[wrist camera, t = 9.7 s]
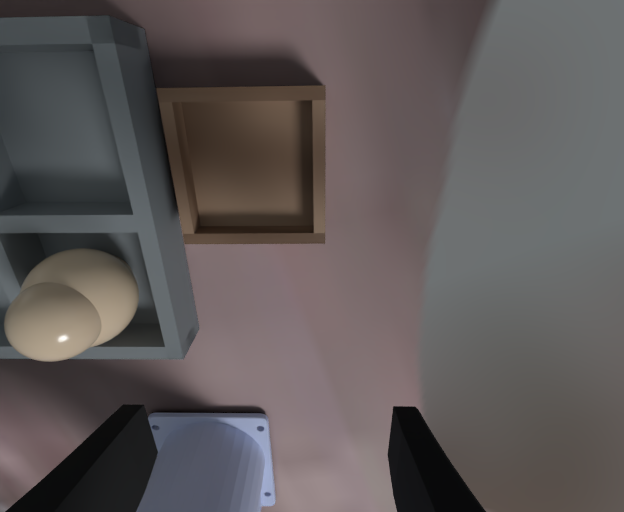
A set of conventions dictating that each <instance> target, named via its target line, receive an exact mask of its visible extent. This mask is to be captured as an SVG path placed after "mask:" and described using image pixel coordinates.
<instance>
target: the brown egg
mask: <svg viewBox="0 0 624 512" xmlns="http://www.w3.org/2000/svg"><path fill="white" fill-rule="evenodd" d="M138 302H139V289H138V284H137V281H136V279H135V276H134V274H133V272H132V270H131V268H130V266H129V265H128V264H127V263H126V262H125V261H124V260H122V259H121V258H119V257H117V256H115V255H111V254H109V253H107V252H104V251H100V250H96V249H87V248H78V249H70V250H65V251H62V252H59V253H56V254H53V255H51V256H49V257H48V258H46V259H44V260H43V261H41V262H40V263H39V264H37V265H36V266H35V267H34V268H33V269H32V270H31V271H30V273H29V274H28V275H27V277H26V278H25V280H24V282H23V284H22V287H21V290H20V294H19V295H18V296H17V297H16V298H15V299H14V300H13V301H12V303H11V304H10V306H9V308H8V310H7V312H6V315H5V320H4V329H5V334H6V337H7V339H8V341H9V343H10V344H11V345H12V347H13V348H14V349H15V350H16V351H18V352H19V353H21V354H22V355H24V356H26V357H28V358H31V359H34V360H38V361H46V362H53V361H61V360H66V359H69V358H72V357H74V356H76V355H78V354H80V353H82V352H84V351H85V350H87V349H88V348H90V347H94V346H97V345H100V344H103V343H105V342H107V341H109V340H111V339H112V338H114V337H115V336H117V335H118V334H119V333H121V332H122V331H123V330H124V329H125V328H126V327H127V325H128V324H129V323H130V321H131V320H132V318H133V316H134V315H135V312H136V310H137V307H138Z"/></svg>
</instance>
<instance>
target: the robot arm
mask: <svg viewBox="0 0 624 512" xmlns="http://www.w3.org/2000/svg"><path fill="white" fill-rule="evenodd" d="M156 457H157V458H156ZM155 460H156V461H155ZM388 460H389V467H390V475H391V482H392V488H393V495H394V499H395V504H396V508H397V512H486V511H485V510H484V509H483V507H482V506H481V504H480V503H479V502H478V500H477V499H476V498H475V496H474V495H473V494H472V492H471V491H470V490H469V488H468V487H467V485H466V484H465V482H464V481H463V479H462V478H461V476H460V475H459V473H458V472H457V471H456V469H455V468H454V466H453V465H452V464H451V462H450V460H449V459H448V458H447V456H446V454H445V453H444V451H443V450H442V448H441V447H440V445H439V443H438V442H437V440H436V439H435V437H434V435H433V434H432V432H431V430H430V429H429V427H428V426H427V424H426V422H425V420H424V419H423V417H422V415H421V413H420V412H419V410H418V409H417V408H416V407H395V406H393V415H392V423H391V432H390V440H389V449H388ZM275 499H276V496H275V485H274V474H273V464H272V453H271V443H270V432H269V421H268V417H267V416H266V415H265V414H261V413H151V414H150V415H149V417H147V414H146V410H145V407H144V405H122V406H121V407H120V408H119V409H118V410H117V411H116V412H115V413H114V414H113V415H111V416H110V417H109V418H108V419H107V420H106V421H105V422H104V423H103V424H102V425H101V426H100V427H99V428H98V429H97V430H95V431H94V432H93V433H92V434H91V435H90V436H89V437H88V438H87V439H86V440H85V441H84V442H83V443H82V444H81V445H80V446H78V447H77V448H76V449H75V450H74V451H73V452H72V453H71V454H70V455H69V456H68V457H67V458H65V459H64V460H63V461H62V462H61V463H60V464H59V465H58V466H57V467H56V468H55V469H53V470H52V471H51V472H50V473H49V474H48V475H47V476H46V477H45V478H44V479H42V480H41V481H40V482H39V483H38V484H37V485H36V486H34V487H33V488H32V489H31V490H30V491H29V492H28V493H26V494H25V495H24V496H23V497H22V498H21V499H19V500H18V501H17V502H16V503H15V504H14V505H13V506H11V507H10V508H9V509H8V510H7V511H6V512H261V507H262V506H272V505H274V504H275Z"/></svg>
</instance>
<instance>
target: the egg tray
mask: <svg viewBox="0 0 624 512" xmlns="http://www.w3.org/2000/svg"><path fill="white" fill-rule="evenodd" d="M78 248H87V249H96V250H100V251H104V252H107V253H109V254H111V255H115V256H117V257H119V258H121V259H122V260H124V261H125V262H126V263H127V264H128V265H129V266H130V268H131V270H132V272H133V274H134V276H135V279H136V281H137V284H138V289H139V302H138V307H137V310H136V312H135V315H134V316H133V318H132V320H131V321H130V323H129V324H128V325H127V327H126V328H125V329H124V330H123V331H122V332H121V333H119V334H118V335H117V336H115V337H114V338H112V339H111V340H109V341H107V342H105V343H103V344H100V345H97V346H94V347H90V348H88V349H87V350H85V351H84V352H82V353H80V354H78V355H76V356H74V357H72V358H69V359H184V357H185V356H186V354H187V352H188V350H189V348H190V346H191V344H192V342H193V340H194V338H195V336H196V334H197V332H198V330H199V324H198V318H197V313H196V307H195V302H194V296H193V291H192V285H191V280H190V274H189V269H188V264H187V258H186V253H185V247H184V242H183V236H182V231H181V225H180V220H179V214H178V209H177V204H176V198H175V193H174V187H173V182H172V176H171V171H170V165H169V160H168V155H167V149H166V144H165V138H164V133H163V127H162V122H161V116H160V111H159V105H158V100H157V95H156V89H155V84H154V78H153V73H152V67H151V62H150V56H149V51H148V45H147V40H146V35H145V29H143V28H140V27H138V26H135V25H132V24H130V23H127V22H125V21H122V20H119V19H117V18H114V17H112V16H109V15H105V16H57V17H9V18H0V359H31V358H28V357H26V356H24V355H22V354H21V353H19V352H18V351H16V350H15V349H14V348H13V347H12V345H11V344H10V343H9V341H8V339H7V337H6V334H5V329H4V320H5V315H6V312H7V310H8V308H9V306H10V304H11V303H12V301H13V300H14V299H15V298H16V297H17V296H18V295H19V294H20V290H21V287H22V284H23V282H24V280H25V278H26V277H27V275H28V274H29V273H30V271H31V270H32V269H33V268H34V267H35V266H36V265H37V264H39V263H40V262H41V261H43V260H44V259H46V258H48V257H49V256H51V255H53V254H56V253H59V252H62V251H65V250H70V249H78Z"/></svg>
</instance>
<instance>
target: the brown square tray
mask: <svg viewBox="0 0 624 512" xmlns="http://www.w3.org/2000/svg"><path fill="white" fill-rule="evenodd" d="M156 89H157V95H158V100H159V106H160V111H161V117H162V122H163V128H164V133H165V139H166V144H167V150H168V155H169V161H170V166H171V172H172V177H173V183H174V188H175V194H176V199H177V205H178V210H179V216H180V221H181V227H182V232H183V238H184V243H185V244H310V243H325V85H322V86H258V87H194V88H156Z"/></svg>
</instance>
